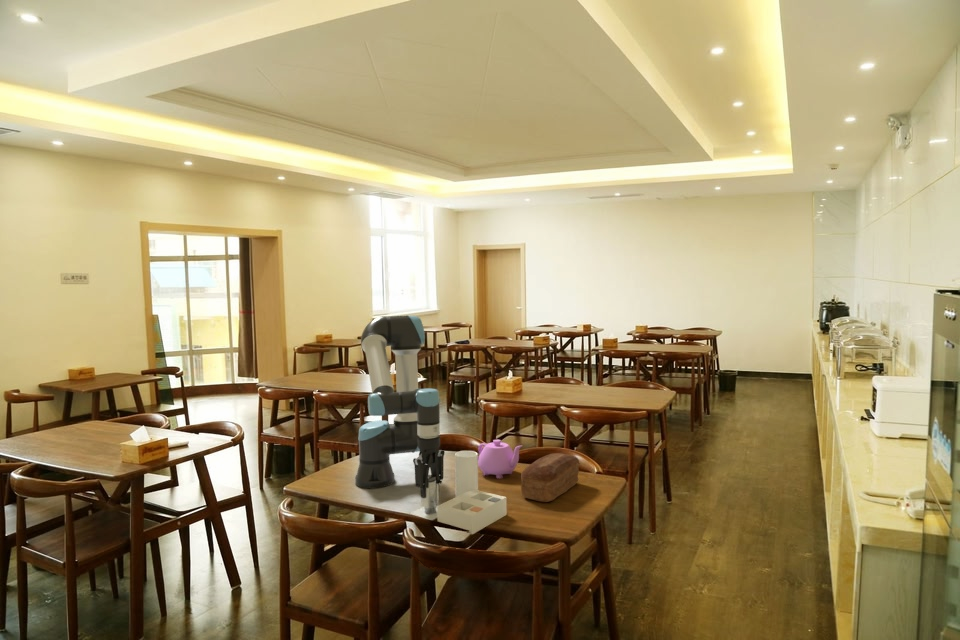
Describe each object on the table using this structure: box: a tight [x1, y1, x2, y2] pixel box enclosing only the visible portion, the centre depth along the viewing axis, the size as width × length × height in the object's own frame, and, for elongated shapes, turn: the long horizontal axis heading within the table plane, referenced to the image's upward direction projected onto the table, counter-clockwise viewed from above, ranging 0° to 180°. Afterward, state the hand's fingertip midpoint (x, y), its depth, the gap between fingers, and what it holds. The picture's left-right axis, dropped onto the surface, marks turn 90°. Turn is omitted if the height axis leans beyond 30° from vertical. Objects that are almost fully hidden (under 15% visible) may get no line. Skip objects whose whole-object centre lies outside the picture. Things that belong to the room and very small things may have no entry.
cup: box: [454, 450, 479, 497], centre depth 220 cm, size 8×8×16 cm
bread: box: [520, 452, 580, 503], centre depth 225 cm, size 14×28×12 cm, turn 147°
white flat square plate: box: [409, 505, 438, 521], centre depth 204 cm, size 10×10×1 cm
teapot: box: [477, 439, 523, 480], centre depth 245 cm, size 22×16×14 cm
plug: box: [424, 474, 437, 514], centre depth 204 cm, size 4×4×12 cm
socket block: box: [436, 489, 508, 535], centre depth 200 cm, size 14×19×6 cm
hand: (430, 504), depth 204 cm, fingers open, 4 cm apart
